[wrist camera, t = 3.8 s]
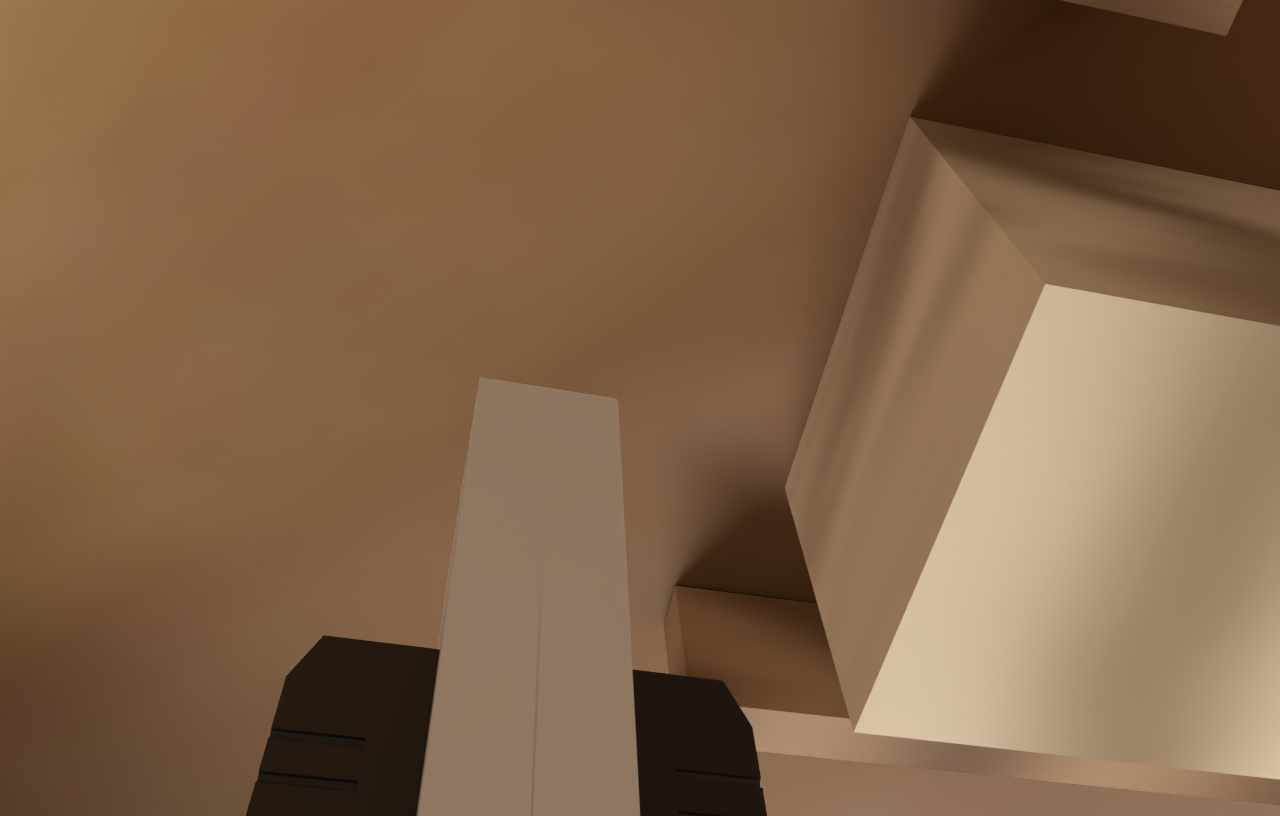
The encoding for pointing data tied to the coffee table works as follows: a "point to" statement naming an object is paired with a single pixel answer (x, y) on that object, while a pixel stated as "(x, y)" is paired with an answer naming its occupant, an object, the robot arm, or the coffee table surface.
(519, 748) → the robot arm
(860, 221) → the coffee table surface
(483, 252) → the coffee table surface
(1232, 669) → the block
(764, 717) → the channel
